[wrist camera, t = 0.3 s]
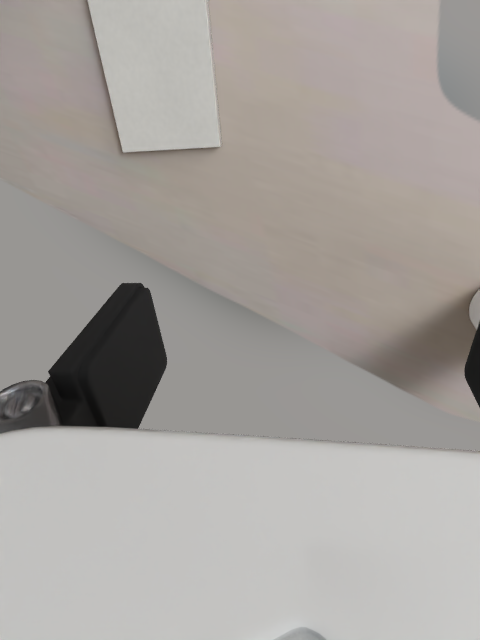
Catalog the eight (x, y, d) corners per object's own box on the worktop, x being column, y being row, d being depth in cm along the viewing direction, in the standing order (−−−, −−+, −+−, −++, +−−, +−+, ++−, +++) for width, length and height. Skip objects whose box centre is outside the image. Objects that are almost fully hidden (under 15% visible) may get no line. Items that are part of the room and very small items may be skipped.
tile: (84, -34, 31) (78, -36, 30) (203, -52, 29) (200, -55, 28) (126, 150, 39) (122, 152, 38) (222, 145, 37) (220, 147, 36)
